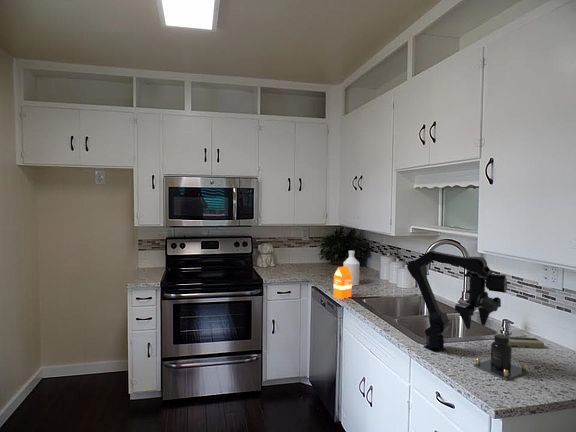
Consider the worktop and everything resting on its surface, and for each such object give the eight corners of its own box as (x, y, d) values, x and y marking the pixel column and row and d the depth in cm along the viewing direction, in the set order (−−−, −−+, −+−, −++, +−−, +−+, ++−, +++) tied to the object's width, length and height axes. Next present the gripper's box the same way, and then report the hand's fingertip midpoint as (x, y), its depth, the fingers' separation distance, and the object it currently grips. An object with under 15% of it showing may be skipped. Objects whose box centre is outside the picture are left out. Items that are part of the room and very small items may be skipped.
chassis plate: (474, 366, 148) (474, 357, 148) (495, 359, 154) (495, 351, 154) (506, 380, 137) (506, 371, 137) (528, 373, 143) (528, 364, 143)
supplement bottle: (515, 371, 142) (516, 339, 142) (497, 371, 142) (498, 340, 141) (503, 363, 149) (504, 333, 148) (486, 363, 149) (487, 333, 148)
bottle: (359, 286, 280) (359, 252, 279) (342, 285, 282) (343, 251, 281) (359, 282, 292) (359, 250, 291) (343, 282, 294) (343, 249, 293)
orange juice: (333, 296, 250) (333, 266, 249) (342, 294, 256) (343, 265, 255) (341, 299, 244) (342, 268, 243) (351, 297, 249) (352, 266, 248)
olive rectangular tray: (534, 342, 174) (534, 335, 174) (544, 349, 166) (544, 342, 166) (497, 341, 176) (498, 334, 176) (506, 348, 168) (506, 340, 168)
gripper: (479, 296, 142) (478, 337, 143) (511, 290, 151) (509, 329, 152) (454, 289, 152) (453, 328, 153) (485, 284, 161) (483, 321, 162)
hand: (475, 327), depth 155 cm, fingers open, 9 cm apart
